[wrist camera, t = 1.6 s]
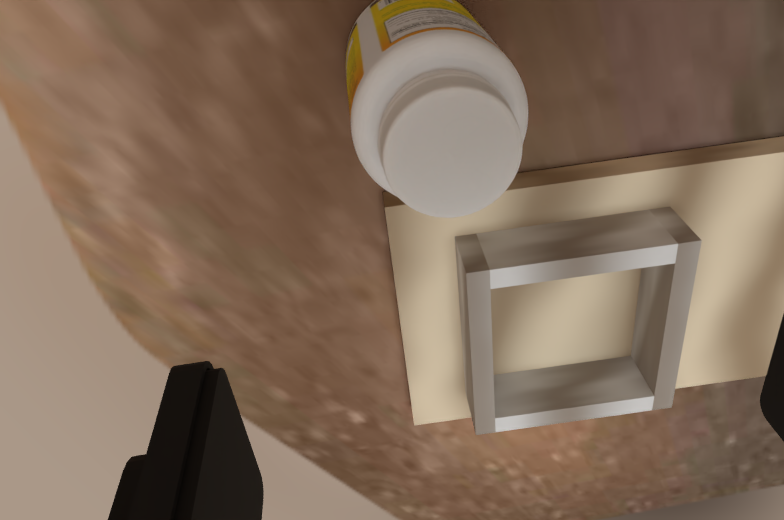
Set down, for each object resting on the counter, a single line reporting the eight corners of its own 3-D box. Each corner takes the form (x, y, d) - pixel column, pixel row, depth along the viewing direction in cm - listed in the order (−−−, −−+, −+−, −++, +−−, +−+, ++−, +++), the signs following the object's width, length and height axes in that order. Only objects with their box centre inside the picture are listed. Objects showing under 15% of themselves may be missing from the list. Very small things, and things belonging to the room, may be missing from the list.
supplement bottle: (405, 145, 28) (438, 275, 20) (316, 51, 26) (309, 155, 17) (506, 58, 27) (590, 160, 18) (420, -51, 24) (470, 8, 16)
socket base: (939, 114, 30) (1027, 154, 26) (853, 343, 37) (912, 399, 34) (382, 192, 30) (390, 243, 26) (411, 405, 37) (420, 469, 34)
